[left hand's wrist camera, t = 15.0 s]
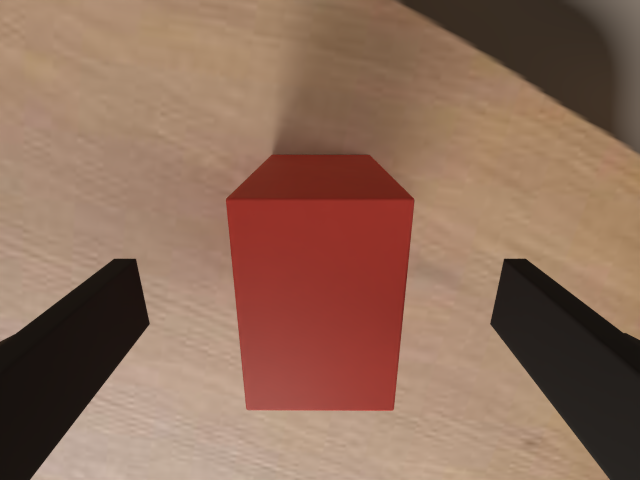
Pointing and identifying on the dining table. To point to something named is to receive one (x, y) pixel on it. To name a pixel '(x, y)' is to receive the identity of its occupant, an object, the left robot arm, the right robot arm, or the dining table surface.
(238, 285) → the brick
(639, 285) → the dining table surface
